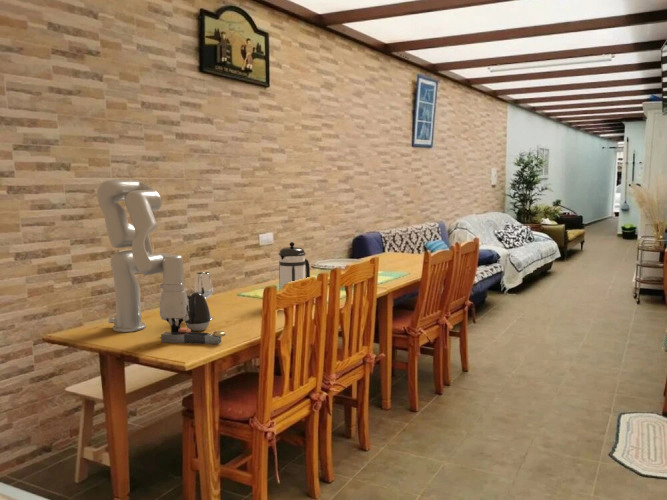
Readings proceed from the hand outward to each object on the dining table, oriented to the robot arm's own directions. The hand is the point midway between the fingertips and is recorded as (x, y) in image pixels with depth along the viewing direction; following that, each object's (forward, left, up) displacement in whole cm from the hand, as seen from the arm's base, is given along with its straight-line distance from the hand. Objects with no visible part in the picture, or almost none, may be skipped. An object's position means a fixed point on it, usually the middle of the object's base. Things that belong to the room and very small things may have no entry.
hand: (176, 335), depth 217 cm
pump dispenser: (+3, +14, -2) cm, 14 cm away
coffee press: (+30, +66, -2) cm, 72 cm away
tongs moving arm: (+8, -5, -1) cm, 9 cm away
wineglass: (-1, +31, -2) cm, 31 cm away
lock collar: (+4, 0, -1) cm, 4 cm away
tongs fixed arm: (+9, -3, -1) cm, 10 cm away
